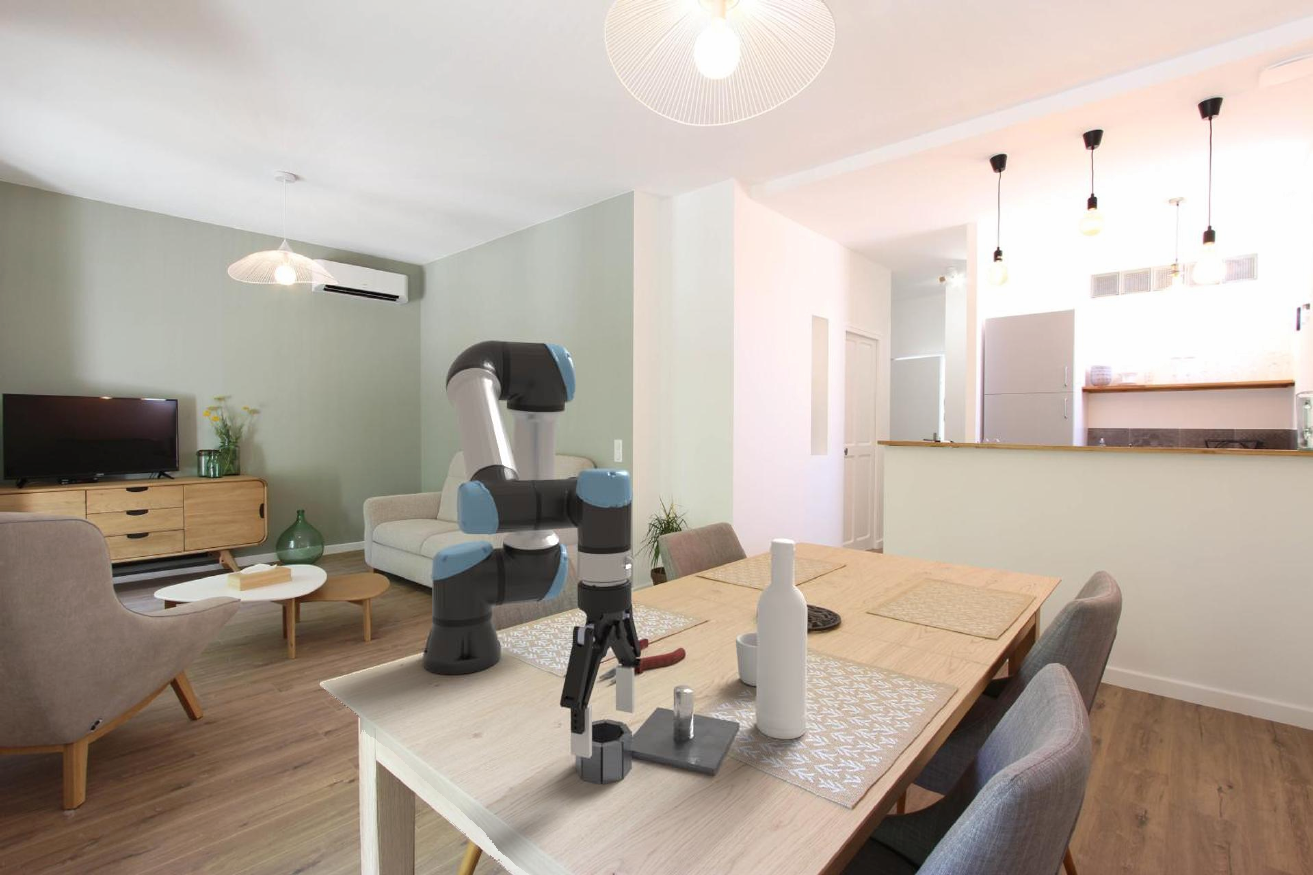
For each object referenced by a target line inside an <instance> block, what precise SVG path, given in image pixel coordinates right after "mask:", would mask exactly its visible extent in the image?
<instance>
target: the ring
mask: <svg viewBox="0 0 1313 875" xmlns="http://www.w3.org/2000/svg"><path fill="white" fill-rule="evenodd" d="M632 736H633V732H632V730H631V728H630V727H628V725H627V724H626V723H625V722H623V721H617V720H613V719H609V718H607V719H606V718H603V719H598V720H594V721H593V720H592V756H591V757H590V758H586V757H581V756H577V755H575V770H576V772H577V773H578V776H579V778H580V779H582V781H587V782H590V783H594V784H596V785H597V784H598V785H601V784H602V785H606V784H611V783H614V782H619V781H621V780H622V779H625V778H626V777H627V775H628V774H629V772H630V771H631V770H632V768H633V763H632V762H633V757H632Z"/></svg>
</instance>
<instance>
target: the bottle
mask: <svg viewBox="0 0 1313 875" xmlns="http://www.w3.org/2000/svg"><path fill="white" fill-rule="evenodd" d="M770 543H771V546H770V548H769V549H770V550H769V551H770V554H771V555H770V584H769V585H768V586H767V587H765V588H764V589H763V590H762V592H761V593H760V596H759V598H758V601H757V608H756V609H757V610H756V611H757V616H756V618H757V619H756V620H757V622H756V623H757V625H756V628H757V629H756V633H757V686H756V705H755V720H756V722H755V723H756V728H757V729H758V730H759V732H760V733H761V734H763V735H765V736H767V737H769V738H773V739H777V740H794V739H798V738H800V737H801V736H803V735H804V734H805V733H806V730H807V720H808V719H807V717H808V712H807V681H808V679H807V678H808V677H807V669H808V668H807V666H808V661H807V660H808V659H807V658H808V606H807V601H806V598H805V596H804V594H803V592H802V591H800V590H801V589H799V588H798V587H797V586H796V585H795V554H796V547H795V546H796V543H795V541H794V540H791V539H787V538H775V539H773V540H772V541H771V542H770Z"/></svg>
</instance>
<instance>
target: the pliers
mask: <svg viewBox="0 0 1313 875" xmlns="http://www.w3.org/2000/svg"><path fill="white" fill-rule="evenodd" d="M638 641H639V645H640V649H641V651H642V650H645V649H647V648H648V647H649V639H648V638H641V639H638ZM631 648H633V647H631ZM633 649H634V648H633ZM686 653H687V652H686V650H685V648H683V647H679V648H677V649H675V650H674V651H672V652H669V653H663V654H658V655H651V656H646V657H639V659H641V665H640V666H639V667H637V666H633V668H634V673H638V674H643V673H644V671H646V670H651V669H657V668H663V667H667V666H671V665H676V664H678V663H679V662H681V661H682V660H684V659H685V658H686V655H687V654H686ZM618 665H620V666H622V664H619V663H618V664H616V665H614V666H613V667H611V668H610V669H608V670H607V671H606V672H605V673H603V674H601V675H600V676H599V677H598V679H599V680H602V679H607V678H611V679H610V683H612V682H616V666H618Z"/></svg>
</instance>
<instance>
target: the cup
mask: <svg viewBox="0 0 1313 875" xmlns="http://www.w3.org/2000/svg"><path fill="white" fill-rule="evenodd" d="M735 647H736V655H737V656H736V657H737V667H738V676H739V678H740V681H741V682H742V683H745V684H746V685H749V686H752V687H757V632H744V633H741V634H739V635H737V636H736V638H735Z"/></svg>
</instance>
